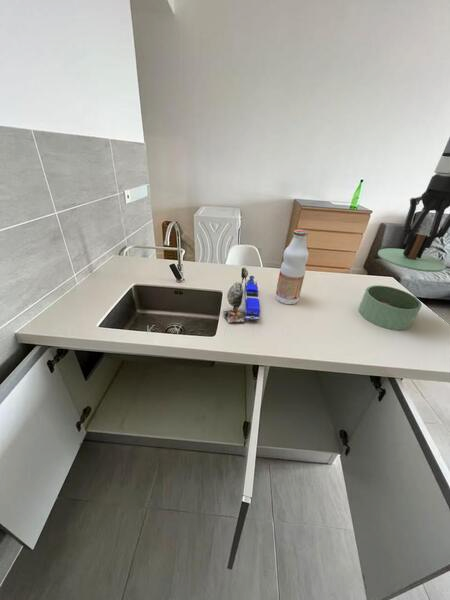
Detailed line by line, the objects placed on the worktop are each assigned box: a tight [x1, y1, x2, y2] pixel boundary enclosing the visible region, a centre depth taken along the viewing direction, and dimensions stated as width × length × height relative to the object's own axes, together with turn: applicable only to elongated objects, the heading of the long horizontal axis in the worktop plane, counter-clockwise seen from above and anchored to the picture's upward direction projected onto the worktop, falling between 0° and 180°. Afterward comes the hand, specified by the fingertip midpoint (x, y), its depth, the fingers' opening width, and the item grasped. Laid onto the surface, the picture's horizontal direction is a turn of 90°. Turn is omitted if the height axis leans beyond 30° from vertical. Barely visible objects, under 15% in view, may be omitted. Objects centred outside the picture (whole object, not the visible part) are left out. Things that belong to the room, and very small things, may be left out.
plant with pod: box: [222, 267, 249, 324], centre depth 83 cm, size 8×11×20 cm
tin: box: [358, 284, 423, 331], centre depth 91 cm, size 18×18×8 cm
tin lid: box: [377, 232, 447, 273], centre depth 78 cm, size 19×19×9 cm
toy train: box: [244, 275, 261, 321], centre depth 93 cm, size 5×25×8 cm, turn 177°
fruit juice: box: [275, 229, 310, 305], centre depth 93 cm, size 9×9×28 cm
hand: (411, 255), depth 79 cm, fingers closed on tin lid, 3 cm apart
